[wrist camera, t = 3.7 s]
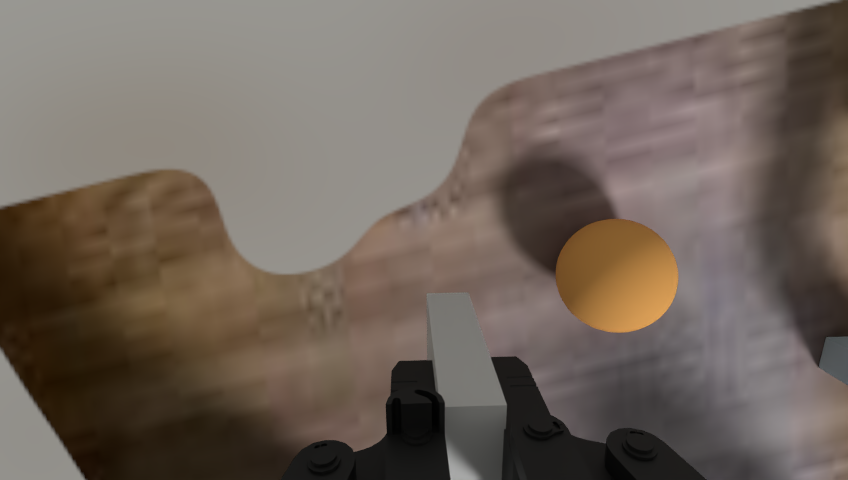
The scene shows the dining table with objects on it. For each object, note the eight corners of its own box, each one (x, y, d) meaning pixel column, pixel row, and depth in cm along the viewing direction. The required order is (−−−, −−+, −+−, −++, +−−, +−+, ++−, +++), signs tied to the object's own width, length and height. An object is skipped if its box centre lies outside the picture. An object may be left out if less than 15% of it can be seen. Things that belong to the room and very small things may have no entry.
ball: (539, 306, 26) (574, 356, 21) (545, 209, 25) (584, 236, 19) (635, 303, 26) (694, 352, 21) (647, 207, 25) (714, 233, 20)
